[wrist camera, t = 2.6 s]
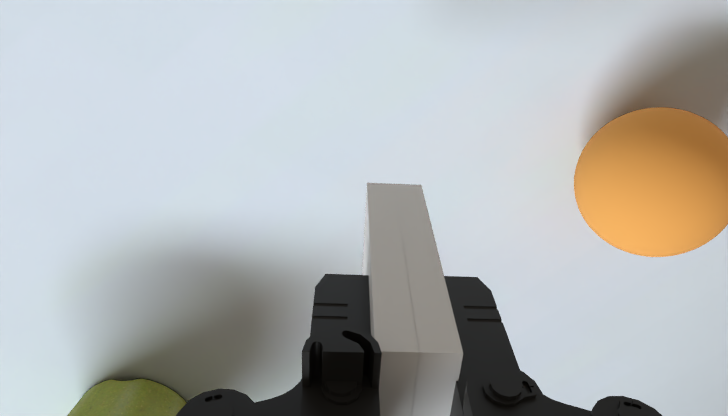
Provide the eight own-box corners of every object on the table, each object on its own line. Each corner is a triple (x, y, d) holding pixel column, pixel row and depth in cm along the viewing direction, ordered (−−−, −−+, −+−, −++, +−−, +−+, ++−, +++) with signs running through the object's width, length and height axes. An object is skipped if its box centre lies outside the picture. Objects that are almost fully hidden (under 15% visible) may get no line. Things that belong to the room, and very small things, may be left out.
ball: (666, 215, 24) (745, 289, 19) (542, 211, 24) (591, 284, 19) (708, 92, 22) (811, 141, 17) (570, 86, 21) (634, 134, 16)
